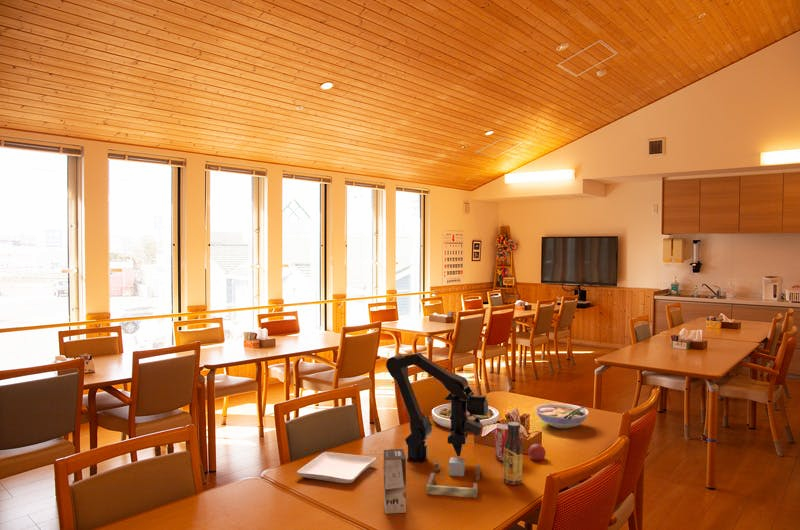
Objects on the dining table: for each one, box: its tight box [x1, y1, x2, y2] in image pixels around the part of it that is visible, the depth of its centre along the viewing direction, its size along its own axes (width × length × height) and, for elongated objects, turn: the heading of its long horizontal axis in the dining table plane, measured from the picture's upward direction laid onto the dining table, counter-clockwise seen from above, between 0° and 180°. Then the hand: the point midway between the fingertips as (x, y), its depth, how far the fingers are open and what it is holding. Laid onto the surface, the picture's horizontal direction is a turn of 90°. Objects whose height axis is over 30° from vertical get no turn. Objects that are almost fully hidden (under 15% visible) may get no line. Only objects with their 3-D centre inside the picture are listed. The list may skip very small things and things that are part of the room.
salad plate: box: [296, 451, 377, 484], centre depth 200 cm, size 21×21×3 cm
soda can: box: [494, 423, 508, 462], centre depth 213 cm, size 7×7×12 cm
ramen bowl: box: [534, 402, 590, 430], centre depth 251 cm, size 25×23×8 cm
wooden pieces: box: [426, 460, 481, 499], centre depth 191 cm, size 16×22×2 cm
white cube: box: [448, 457, 466, 477], centre depth 199 cm, size 5×5×4 cm
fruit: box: [527, 443, 547, 462], centre depth 212 cm, size 6×6×8 cm
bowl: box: [431, 403, 500, 429], centre depth 259 cm, size 30×30×8 cm
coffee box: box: [383, 448, 407, 515], centre depth 173 cm, size 9×6×16 cm
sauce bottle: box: [502, 421, 524, 486], centre depth 190 cm, size 6×6×20 cm
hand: (458, 455), depth 207 cm, fingers closed
